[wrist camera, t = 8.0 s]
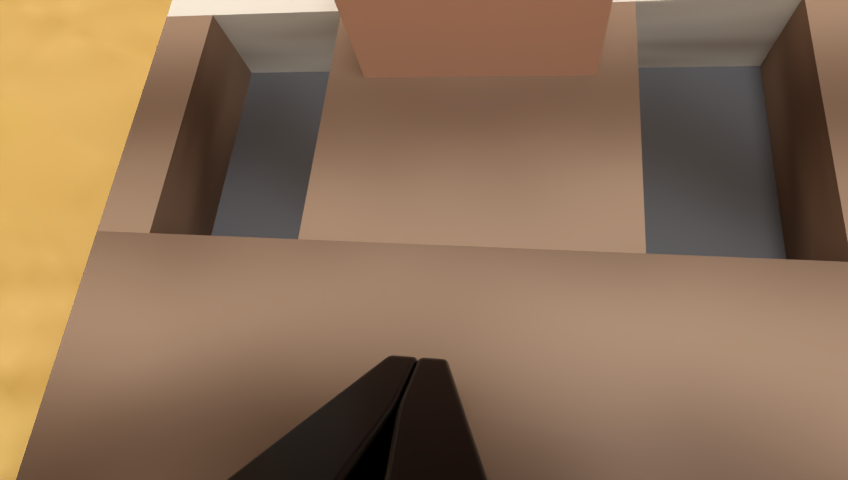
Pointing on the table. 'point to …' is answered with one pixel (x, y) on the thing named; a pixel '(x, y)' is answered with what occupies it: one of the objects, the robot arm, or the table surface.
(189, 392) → the brown piece
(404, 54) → the block
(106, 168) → the table surface
